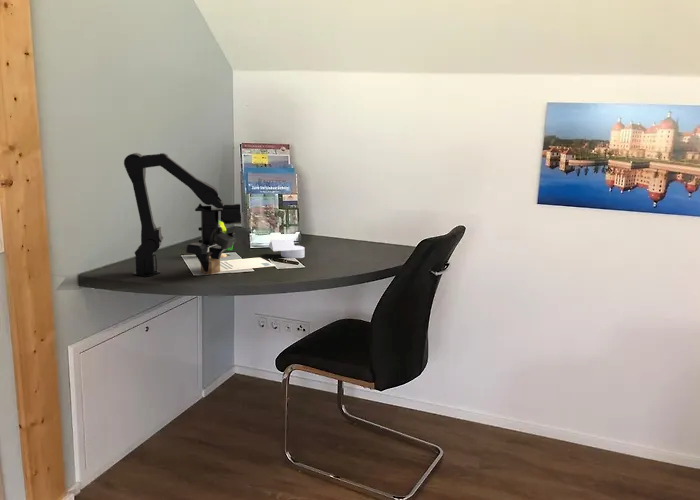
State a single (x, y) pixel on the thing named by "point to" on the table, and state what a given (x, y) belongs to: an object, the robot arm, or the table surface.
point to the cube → (212, 266)
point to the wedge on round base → (287, 248)
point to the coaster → (221, 255)
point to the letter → (244, 264)
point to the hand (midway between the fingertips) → (210, 269)
